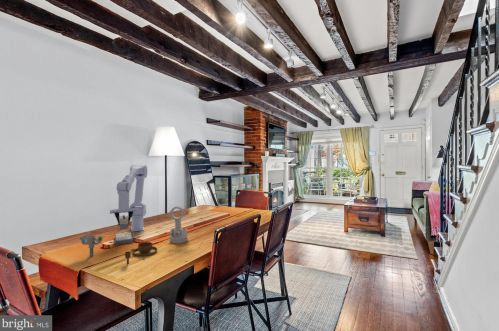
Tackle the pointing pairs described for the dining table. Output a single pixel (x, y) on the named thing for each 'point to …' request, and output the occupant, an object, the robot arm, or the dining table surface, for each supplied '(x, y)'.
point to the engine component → (177, 228)
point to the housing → (123, 222)
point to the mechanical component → (90, 242)
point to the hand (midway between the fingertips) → (123, 224)
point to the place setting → (141, 250)
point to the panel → (123, 238)
